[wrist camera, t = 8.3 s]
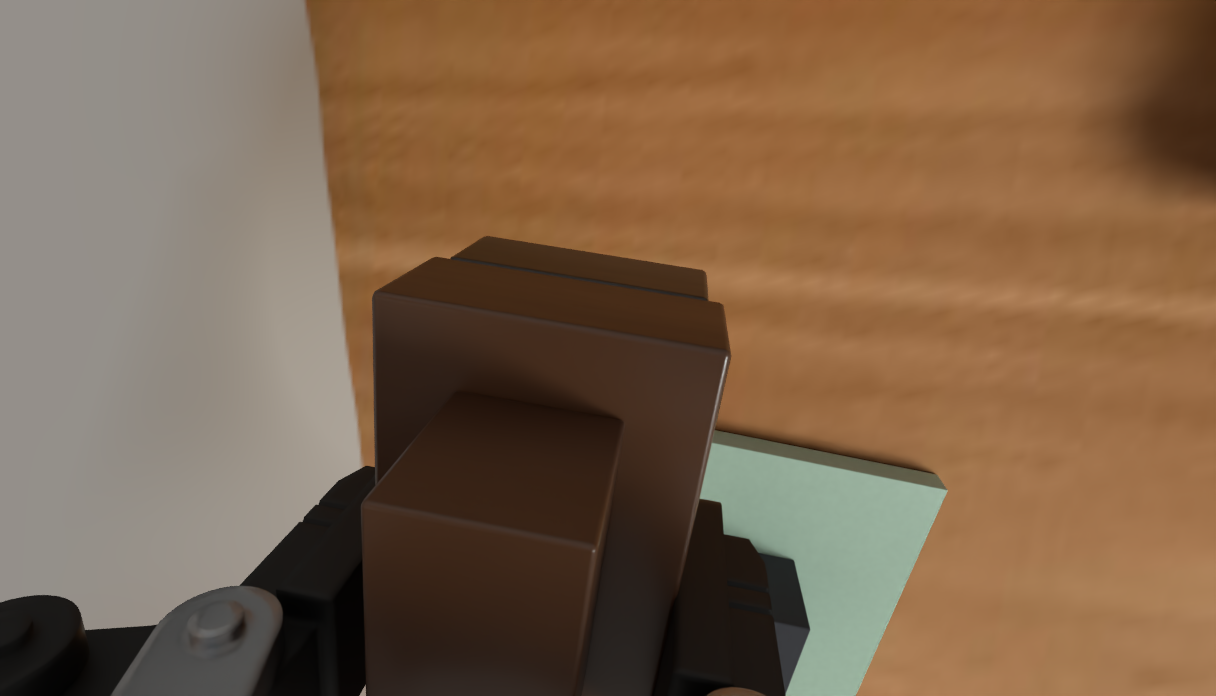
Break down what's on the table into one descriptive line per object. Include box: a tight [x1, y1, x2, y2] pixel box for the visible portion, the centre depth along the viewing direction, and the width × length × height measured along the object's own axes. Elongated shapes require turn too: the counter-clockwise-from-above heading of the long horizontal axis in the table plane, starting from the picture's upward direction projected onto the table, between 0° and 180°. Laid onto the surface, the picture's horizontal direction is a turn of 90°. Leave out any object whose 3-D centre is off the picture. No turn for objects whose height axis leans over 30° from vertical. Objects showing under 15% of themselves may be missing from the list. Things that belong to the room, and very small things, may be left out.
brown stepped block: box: [361, 236, 731, 696], centre depth 9 cm, size 9×4×6 cm, turn 173°
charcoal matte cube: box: [759, 553, 810, 694], centre depth 27 cm, size 4×4×4 cm
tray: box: [700, 430, 947, 696], centre depth 29 cm, size 14×14×1 cm
